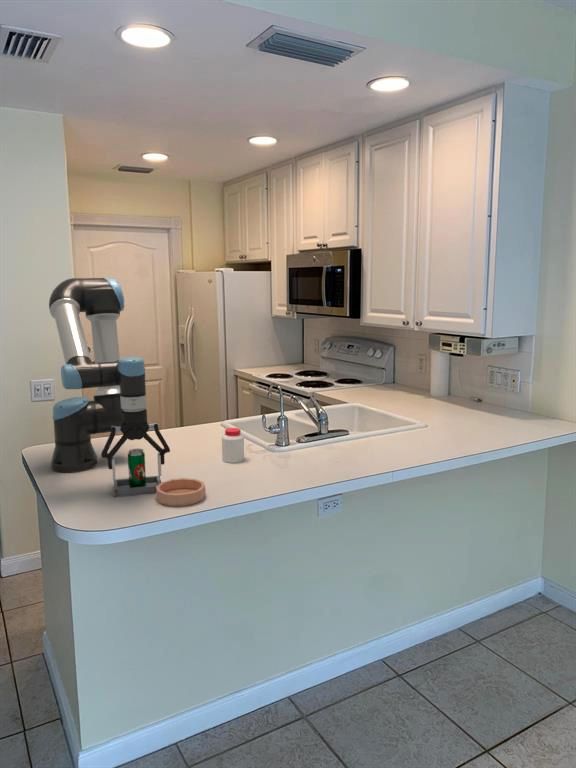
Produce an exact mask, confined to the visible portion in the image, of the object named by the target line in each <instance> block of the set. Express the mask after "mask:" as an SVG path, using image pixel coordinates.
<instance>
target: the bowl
mask: <svg viewBox="0 0 576 768" xmlns="http://www.w3.org/2000/svg"><path fill="white" fill-rule="evenodd" d="M206 491H207V490H206V485H205V482H204V481H202V480H200V479H196V478H188V477H187V478H186V477H183V478H174V479H169V480H166V481H161V483H160V484H159V485H158V486H156V493H155V496H156V501H157V502H158V503H160V504H161V505H164V506H168V507H169V506H170V507H185V506H186V507H187V506H191V505H195V504H198V503H200V502H201V501H203V500H204V499H205V498H206V494H207V493H206Z"/></svg>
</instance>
